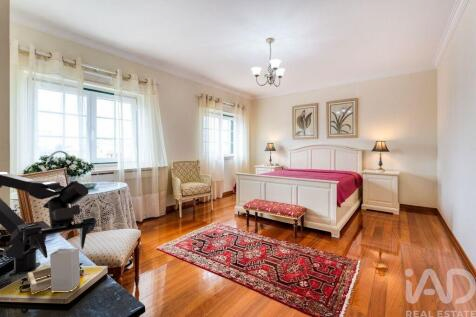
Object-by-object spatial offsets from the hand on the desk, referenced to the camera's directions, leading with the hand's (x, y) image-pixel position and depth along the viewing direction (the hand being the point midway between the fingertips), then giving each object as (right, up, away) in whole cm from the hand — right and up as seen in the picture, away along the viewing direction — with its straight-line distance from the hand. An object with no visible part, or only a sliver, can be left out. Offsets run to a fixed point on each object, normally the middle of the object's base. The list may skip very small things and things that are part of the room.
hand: (65, 252), depth 70 cm
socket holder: (-7, -10, +2) cm, 12 cm away
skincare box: (+2, -11, -2) cm, 11 cm away
